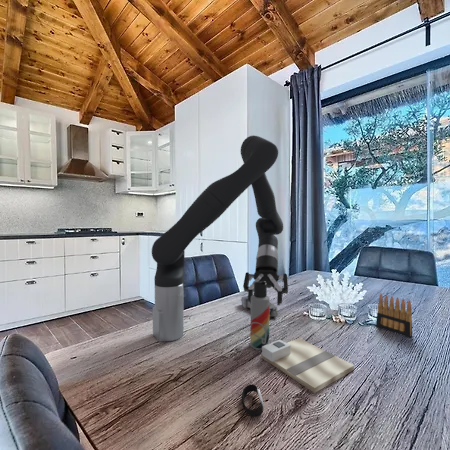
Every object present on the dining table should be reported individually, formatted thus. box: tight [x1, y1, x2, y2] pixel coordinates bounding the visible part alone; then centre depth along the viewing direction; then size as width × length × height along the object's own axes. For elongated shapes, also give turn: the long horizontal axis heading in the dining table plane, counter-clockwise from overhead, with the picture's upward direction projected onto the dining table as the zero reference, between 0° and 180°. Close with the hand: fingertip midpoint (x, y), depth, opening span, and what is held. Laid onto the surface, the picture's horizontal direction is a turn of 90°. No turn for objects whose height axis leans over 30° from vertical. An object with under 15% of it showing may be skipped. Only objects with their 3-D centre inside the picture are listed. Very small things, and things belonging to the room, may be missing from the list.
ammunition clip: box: [375, 293, 413, 338], centre depth 92 cm, size 11×2×12 cm, turn 36°
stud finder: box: [261, 339, 291, 362], centre depth 75 cm, size 7×4×3 cm, turn 124°
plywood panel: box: [260, 337, 355, 394], centre depth 73 cm, size 16×18×1 cm
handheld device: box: [240, 295, 278, 318], centre depth 111 cm, size 10×20×5 cm, turn 29°
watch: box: [241, 383, 265, 418], centre depth 57 cm, size 8×5×4 cm, turn 5°
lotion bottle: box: [249, 281, 271, 351], centre depth 81 cm, size 6×6×20 cm
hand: (264, 303), depth 84 cm, fingers open, 8 cm apart
